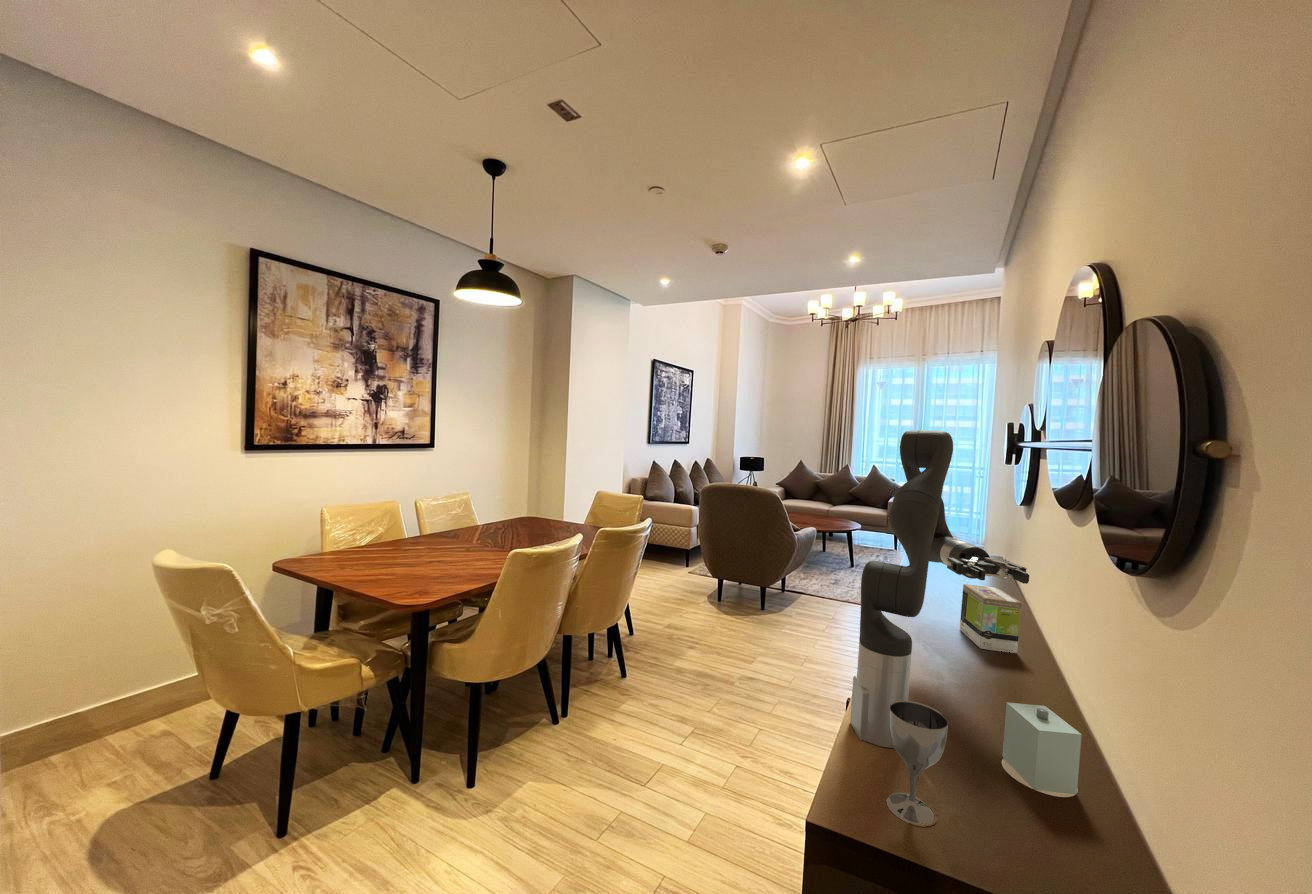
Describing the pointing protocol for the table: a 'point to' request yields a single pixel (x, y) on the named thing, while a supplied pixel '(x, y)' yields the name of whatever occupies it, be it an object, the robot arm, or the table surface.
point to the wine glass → (915, 753)
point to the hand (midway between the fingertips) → (1005, 577)
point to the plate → (1017, 776)
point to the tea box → (990, 618)
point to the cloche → (1042, 748)
